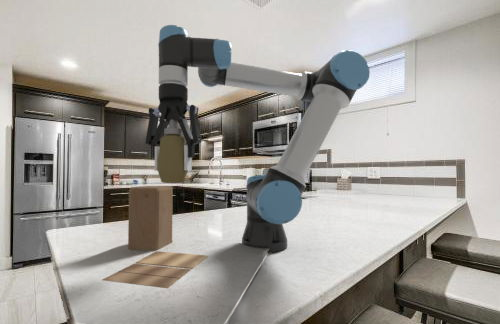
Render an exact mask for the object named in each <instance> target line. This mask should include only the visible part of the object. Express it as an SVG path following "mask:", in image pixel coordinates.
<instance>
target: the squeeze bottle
mask: <svg viewBox="0 0 500 324" xmlns="http://www.w3.org/2000/svg"><path fill="white" fill-rule="evenodd" d="M178 125H179V124H178V121H176V120H173V119H171V120H170V122H169V125H168V127H167V128H165V129H164V137H162V138H161V139H160V148H159V158H158V167H157V170H158V171H157V172H158V176H159V178H160V182H161V183H163V184H179V183H180V184H182V183H185V180H186V178H187V175H188V171H189V170H184V145H187V144H186V143H187V142H186V140H185V137H184V136H183V132H182V130H181V128H179V126H178Z"/></svg>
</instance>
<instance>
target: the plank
mask: <svg viewBox="0 0 500 324" xmlns="http://www.w3.org/2000/svg"><path fill="white" fill-rule="evenodd" d="M208 256H209V255H206V254H205V255H203V254H192V253H191V254H190V253H182V252H170V251H169V252H168V251H159V250H156V251H153V252H152V253H150V254H149V255H147V256H145V257H143V258H142V259H139V260H138V261H136V262H135V264H142V265H152V266H162V267H172V268H182V269H191V270H193V269H195V267H197V266H199V264H201V263H202V262H203V261H204V260H206V259H207V258H208Z"/></svg>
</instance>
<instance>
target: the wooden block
mask: <svg viewBox="0 0 500 324" xmlns="http://www.w3.org/2000/svg"><path fill="white" fill-rule="evenodd" d="M173 197H174V196H173V187H172V186H171V185H144V186H143V185H142V186H132V187H130V188H129V190H128V225H127V226H128V231H127V232H128V234H127V236H128V239H127V242H128V243H127V244H128V245H127V248H128V250H139V251H151V252H152V251H153V252H156V251H159V250H161V249H163V248H165V247H167V246H169V245H170V244H172V243H173Z"/></svg>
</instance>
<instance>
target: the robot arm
mask: <svg viewBox="0 0 500 324" xmlns="http://www.w3.org/2000/svg"><path fill="white" fill-rule="evenodd" d="M158 38H159V39H158V84H159V86H158V99H159V100H158V101H159V104H158V106H157V107H154V108H152V107H149V108H148V115H149V117H148V118H149V119H148V125H147V130H146V137H145V144H146V145H148V146H151V148H152V150H151V151H152V154H151V156H152V159H154V171H155V172H158V170H157V167H158V158H159V148H160V139H161V138H162V137H164V136H165V135H164V129H165V128H168V127H169V122H170V120H171V119H173V120H176V121H177V124H178V125H179V127H180V129H181V130H182V136H183V137H184V138H185V140H186V145H184V170H188V171H193V169H192V168H193V165H192V162H193V159H194V158H195V155H196V154H195V147H196V145H197V144H201V143H202V134H201V130H200V129H201V128H200V124H199V116H198V115H199V114H198V113H199V107H198V106H196V105H194V104H191V105H189V104H188V98H189V95H188V92H189V91H188V67H189V68H190V67H191V68H198V69H197V73H198V77H199V81H200V82H201V83H202V84H203V86H205V87H209V88H213V87H216V86H218V85H219V86H220V85H221V86H226V87H232V88H238V89H245V90H252V91H259V92H266V93H272V94H278V95H282V96H290V97H291V96H292V97H295V98H296V100H297V101H303V102H307V103H308V102H309V103H310V104H308V107H307V109H306V111H305V113H304V114H303V116H302V118H301V120H300V121H299V124H298V126H297V128H296V130H295V131H294V133H293V135H292V137H291V139H290V140H289V142H288V144H287V145H286V148H285V149H284V151H283V153H282V155H281V157H280V159H279V160H278V162H277V164H275V165H274V166H269V168H268V170H267V171H266V174H257V175H251V176H249V177H248V178H247V180H246V185H245V186H246V187H245V188H246V225H245V227H244V231H243V234H242V237H241V244H243V245H245V246H248V247H251V248H257V249H268V250H267V253H274V252H279V251H284V250H286V249H287V248H288V237H287V235H286V231H285V229H284V228H285V227H284V224H287V223H290V222H292V221H293V220H295V218H297V217H298V215H299V214H300V212H301V210H302V205H303V197H302V195H303V193H304V192H305V189H306V187H307V184H306V182H305V178H306V175H307V173H308V172H309V170H310V169H311V167H312V164H313V162H314V160H315V158H316V157H317V155H318V153H319V151H320V149H321V147H322V145H323V144H324V141H325V140H326V138H327V136H328V133H330V130H331V128H332V125H333V124H334V122H335V120H336V119H337V117H338V114H339V113H340V111H341V110H342V109H346V108H347V107H349V105H350V103H351V101H352V100H353V97H354V96H355V94H356V92H357V91H358V90H360V89H361V88H363V87H364V86H365V85H366V84H367V83H368V80H369V78H370V73H371V72H370V66H368V61H367V59H366V58H365V57H364V56H363V55H362V54H361V53H359V52H357V51H355V50H351V49H347V50H341V51H339V52H338V53H336V54H334V55H333V56H332V57H331V59H330V60H328V61H327V62H326V63H324V65H323V66H322V67H321V68H320V69H319V70H317V71H312V72H310V71H302V72H300V73H296V72H290V71H286V70H285V71H284V70H279V69H271V68H267V67H260V66H254V65H248V64H243V63H235V62H232V43H231V42H230V41H229V40H226V39H225V40H224V39H219V38H207V37H206V38H203V37H191V36H188V32H187V30H186V28H184V27H181V26H177V24H176V25H175V24H168V25H164V26H163V27H161V29H160V30H159V37H158ZM187 113H188V114H189V115H188V117H189V121H190V122H189V123H190V127H189V124H188V119H187V117H186V114H187ZM190 128H191V129H190Z"/></svg>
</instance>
